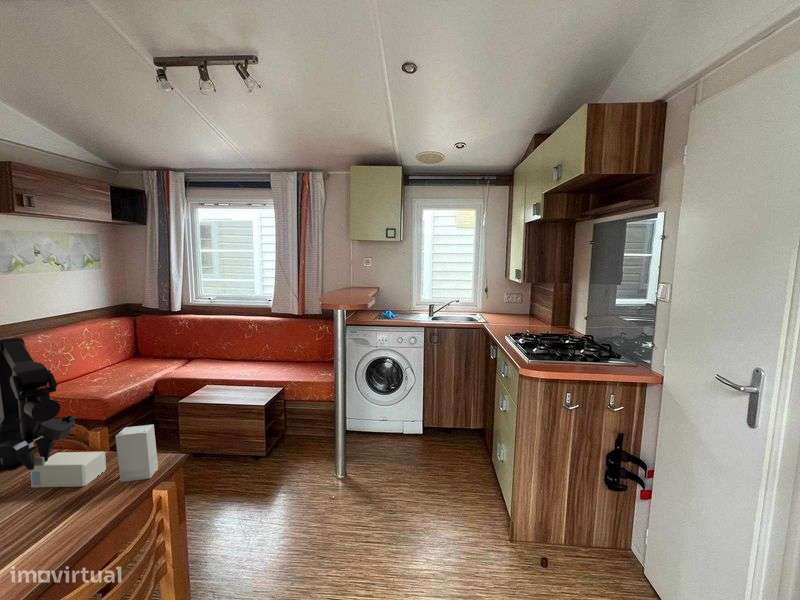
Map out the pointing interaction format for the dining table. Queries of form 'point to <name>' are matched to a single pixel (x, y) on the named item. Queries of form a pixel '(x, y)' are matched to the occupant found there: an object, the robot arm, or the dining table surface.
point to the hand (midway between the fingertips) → (38, 465)
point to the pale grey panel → (56, 474)
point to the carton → (82, 462)
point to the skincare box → (136, 453)
